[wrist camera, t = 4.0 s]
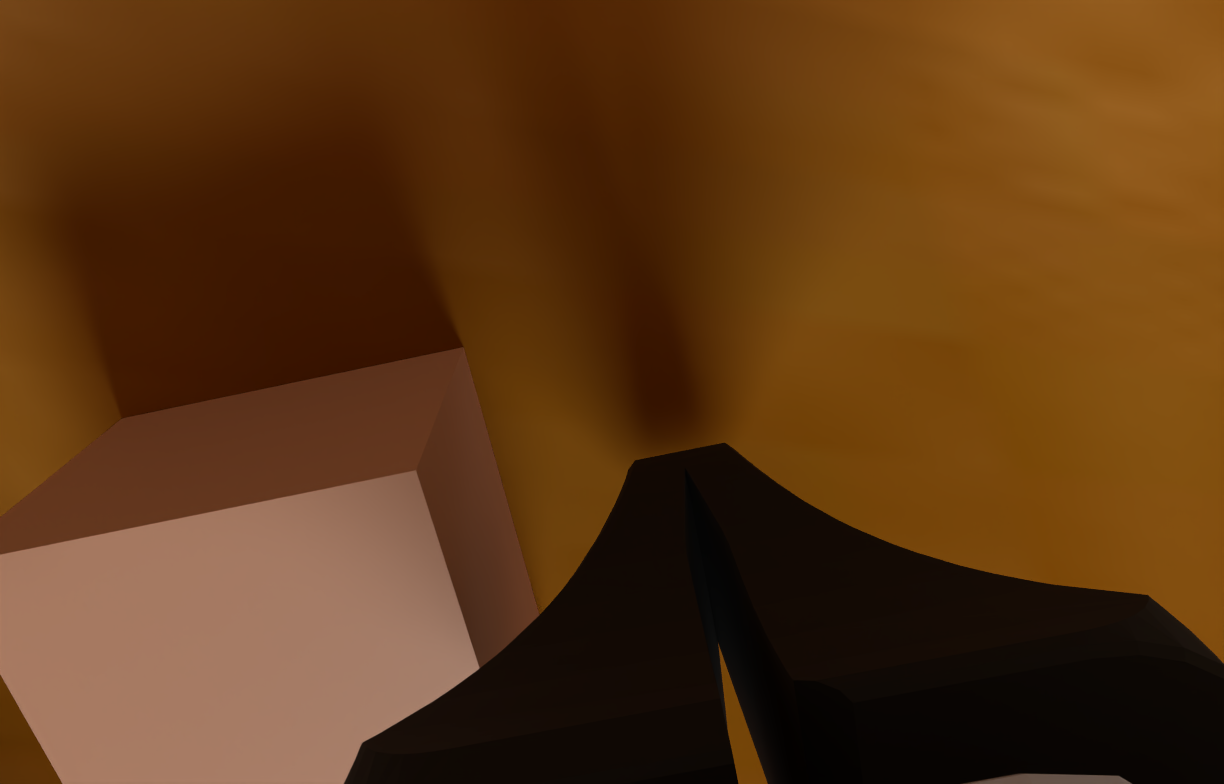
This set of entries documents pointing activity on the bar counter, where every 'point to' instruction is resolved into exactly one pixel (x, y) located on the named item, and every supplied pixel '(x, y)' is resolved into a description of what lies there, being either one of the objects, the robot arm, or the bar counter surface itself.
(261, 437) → the block
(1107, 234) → the bar counter surface
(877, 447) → the bar counter surface
